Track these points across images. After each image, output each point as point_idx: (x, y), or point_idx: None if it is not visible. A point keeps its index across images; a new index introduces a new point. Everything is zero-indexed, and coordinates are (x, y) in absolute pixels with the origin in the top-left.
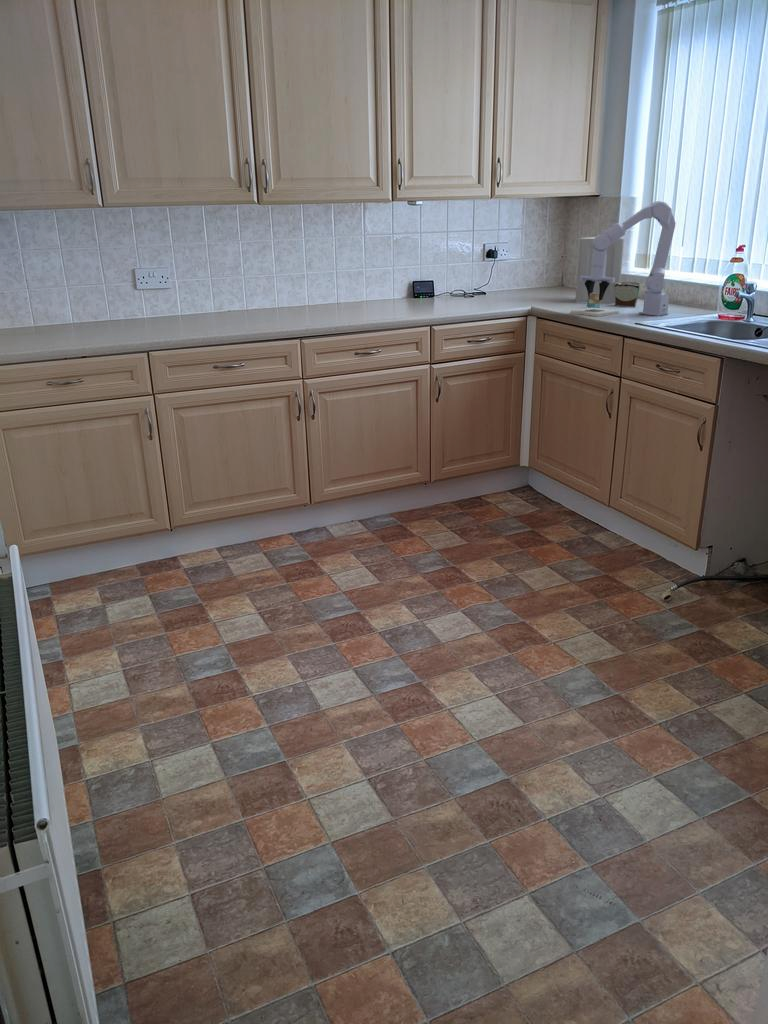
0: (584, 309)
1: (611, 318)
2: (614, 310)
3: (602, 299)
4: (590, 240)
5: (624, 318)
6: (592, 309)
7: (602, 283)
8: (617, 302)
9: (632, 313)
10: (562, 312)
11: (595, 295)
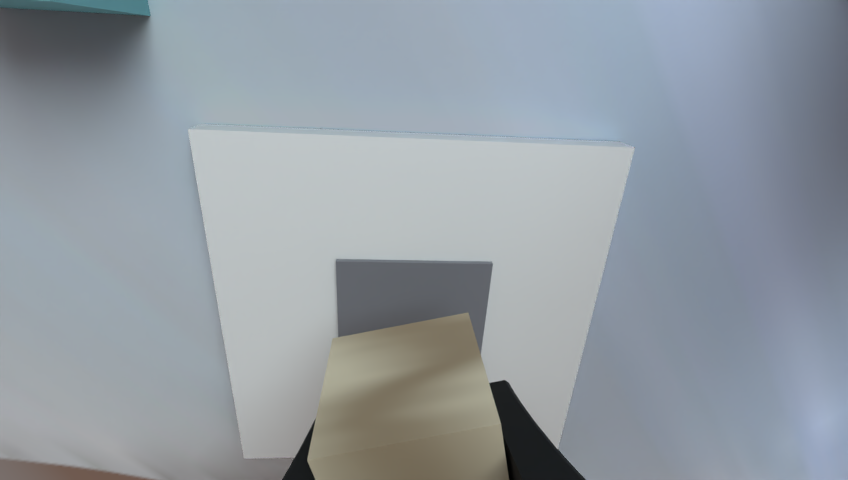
0: (268, 326)
1: (679, 423)
2: (572, 148)
3: (510, 385)
4: None
5: (775, 360)
6: (354, 300)
7: None
8: None
9: (768, 3)
10: (176, 457)
11: None
